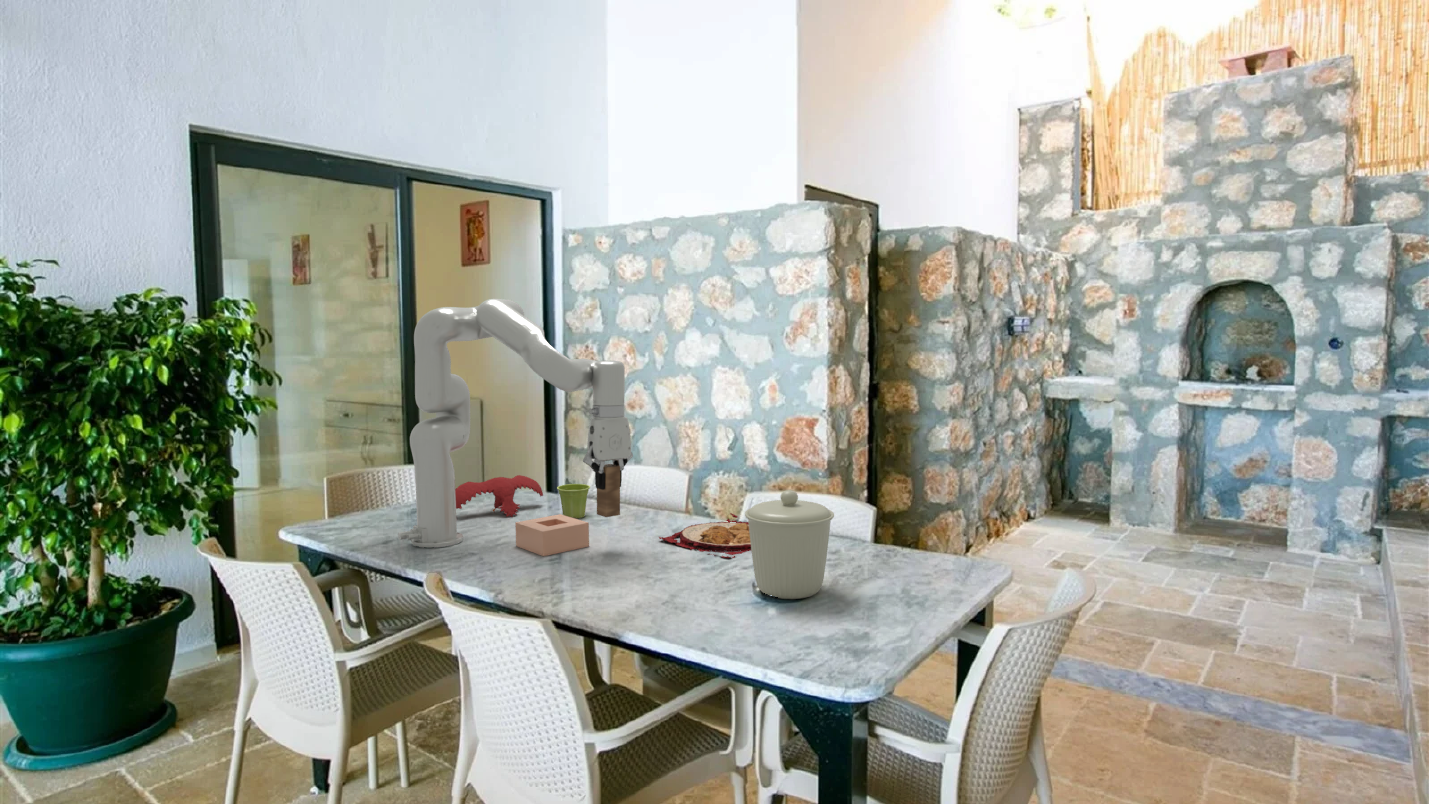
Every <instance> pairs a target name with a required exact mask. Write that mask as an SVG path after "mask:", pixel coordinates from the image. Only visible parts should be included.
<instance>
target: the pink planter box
mask: <svg viewBox="0 0 1429 804" xmlns="http://www.w3.org/2000/svg"><path fill="white" fill-rule="evenodd" d="M589 528H590V524H589V522H588V521H584V520H581V519H579V518H571V517H568V516H565V515H563V514H561V513H560V514H555V515H549V516H543V517H537V518H532V519H527V520H526V519H525V520H522V521H517V522H515V546H516V547H517V548H520V549H523V550H526V551H528V552H531V553H534V554H536V555H539V556H542V557H546V556H551V555H556V554H560V553H565V552H571V551H573V550H579V549H583V548H588V547H590V529H589Z"/></svg>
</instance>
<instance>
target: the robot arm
mask: <svg viewBox="0 0 1429 804" xmlns="http://www.w3.org/2000/svg"><path fill="white" fill-rule="evenodd" d="M487 338H494V339H496V340H497V341H498V342H500V343H502V344H503V345H505V347H507V348H508V349H510V350H512V352H515V353H516V354H517V355H518V356H520V357H521V358H522V359H523V361H524V362H525V363H526V364H527V365H528V367H529V368H530V369H531V370H532V371H533V372H534V373H535V374H537V375H538V376H539V377H540V378H542V379H543V380H544V381H546V382H547V383H549V384H550V385H552V386H553V387H555V388H556V389H558V390H560V391H563V392H566V393H573V392H578V391H583V390H590V389H592V408H589V410H588V413H589V414H590V415H592V417H591V418H590V421H589V426H588V433H587V446H586V448H587V452H586V453H585V455H584V457H583V458H582V462H583V463H584V464H586V465H587V466H589V467H590V469H592V471H593V473H594V485H595V488H596V489H597V488H598V489H602V490H604V489H605V473H603V471H604V465H605V464H606V462H609V461H612V464H614V465H618V466H620V488H621V487H622V472H623V471H624V469H625V467H626V465H627V464H628V462H629V461H631V459H632V458H633V457H634V455H633V452H632V444H631V443H632V439H631V430H630V424H629V420H628V417H627V416H625V388H626V387H625V384H626V383H625V378H626V376H625V374H626V373H625V365H624V363H623V362H622V361H619V360H596V359H595V360H594V359H589V358H576V359H575V358H574V359H570V358H568V357H567V356H566V355H564V354H563V353H561V352H560V351H558V350H557V349H556V348H554V347H553V346H552V345H550V343H549V342H548V341H547V339H546V337H545V330H544V329H543V327H541V326H540V325H539V324H537V323H536V322H534V321H532V320H531V319H529V318H528V317H526V316H525V312H524V310H523V308H522V307H521V306H520V304H519V303H518V302H516V301H514V300H512V299H506V298H505V299H504V298H490V299H486V300H484V301H482V302H481V303H480V304H479V305H477V306H471V307H458V306H457V307H455V306H443V307H438V308H434V309H431V310H429V311H428V312H426V313H424V315H422V317H420V318H419V320H418V321H417V324H416V325H415V328H414V334H413V344H414V345H413V346H414V361H415V363H414V395H415V396H414V398H415V403H416V405H417V407H418V408H419V410H421V411H422V412H423V413H427V414H435V417H432V418H431V417H430V418H426V419H424V420H421V421H419V422H418V423H417V424H416V425H415V426H414V427H413V429H412V430H411V433H410V436H409V446H410V451H411V454H412V459H413V465H414V467H413V468H414V481H415V502H416V503H415V504H416V525H415V524H414V525H413V526H412V527H413V528H411V529H409V531H406V530H403V531H399V532H398V533H397V539H398V540H399V541H401V540H402V541H403V540H407V541H410V540H411V542H410V543H411V545H412V544H413V545H412V546H414V545H415V546H414V547H416V546H419V547H418V548H424V547H434V548H444V547H451V546H453V545H457V544H460V543H461V542H463V541H464V535H463V533H460V532H458V530H457V529H458V527H457V526H458V525H457V524H458V523H457V509H456V495H455V489H456V478H455V477H456V476H455V467H454V463H453V459H452V457H451V455H450V454H451V453H453V452H455V451H458V450H461V449H462V448H463V447H465V445H466V444H467V443H468V441H469V439H470V432H471V393H470V392H471V391H470V389H469V386H468V384H467V382H466V381H465V380H464V378H462V377H461V376H460V375H458V374H454V373H452V369H451V365H452V360H451V353H450V350H449V348H448V346H447V345H448V343H450V342H470V341H478V340H483V339H487Z"/></svg>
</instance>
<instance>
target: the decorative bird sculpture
mask: <svg viewBox="0 0 1429 804" xmlns="http://www.w3.org/2000/svg"><path fill="white" fill-rule="evenodd" d="M522 488H523V489H524V490H525V489H526V488H528V489H529V490H533V492H535V493H537V495H538V494H539V497H543V496H544V492H543V489H542V487H541V485H540V484H539V483H538V482H537V480H534V479H533V478H531V477H528V476H526V475H520V474H519V475H515V476H514V477H511V478H510V477H504V476H499V477H493V478H490V479H487V480H484V481H481V482H479V481H478V482H475V481H474V482H473V481H467V482H463V483H462V484H460V485H459V486H457V487H455V495H456V510H457V509H460V510H461V509H463V507H462V505H467V501H468V502H471V501H472V498H476V497H477V495H479V496H482V493H483V494H484V495H486V494H487V493H488V494H492V495H493V496H494V503H493V507H494V508H492V509H491V511H493V513H495V511H496V509H499V510H500V513H501V512H503V515H504V514H505V517H509V516H510V517H511V518H513V516H517V513H518V512H519V511H518V510H520V509H521V507H520V506H521V504H518V503H516V502H514V497H515V493H516V490H518V489H520V490H522Z"/></svg>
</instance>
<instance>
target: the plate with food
mask: <svg viewBox="0 0 1429 804" xmlns="http://www.w3.org/2000/svg"><path fill="white" fill-rule="evenodd" d="M729 514H730V515H731V516H732V517H731V518H727V520H725V521H728V522H724V521H717V522H715V521H714V522H711V521H710V522H706V523H697V524H694V525H693V524H692V525H689V526H687V527H685V528H683V529H682V530H681V531H679V532H675V533H674V534H672V535H669V536H666V537H664V536H662V537H661V536H658V538H659V540H663V541H667V542H668V543H672V544H673V543H674V544H675V545H676V546H680V547H683V548H689V550H690V551H693V550H698V551H699V552H700V553H702V552H709V553H708V555H709V556H710V555H712V556H713V557H718V555H717V554H712V553H711V552H713V553H717V552H719V553H721V554H722V553H723V554H722V555H721V556H720V557H721V558H724V559H729V558H730V559H735V558H736V556H735V555H740V554H744V553H747V552H752V551H751V541H750V533H749V523H748V521H737V520H736V519H737V518H738V515H735V514H734V513H731V512H730V513H729ZM733 518H736V519H733ZM731 519H733V520H731ZM730 522H736V523H730ZM677 537H679V542H678V539H677ZM710 553H711V554H710ZM724 554H726V555H727V556H724Z"/></svg>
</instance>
